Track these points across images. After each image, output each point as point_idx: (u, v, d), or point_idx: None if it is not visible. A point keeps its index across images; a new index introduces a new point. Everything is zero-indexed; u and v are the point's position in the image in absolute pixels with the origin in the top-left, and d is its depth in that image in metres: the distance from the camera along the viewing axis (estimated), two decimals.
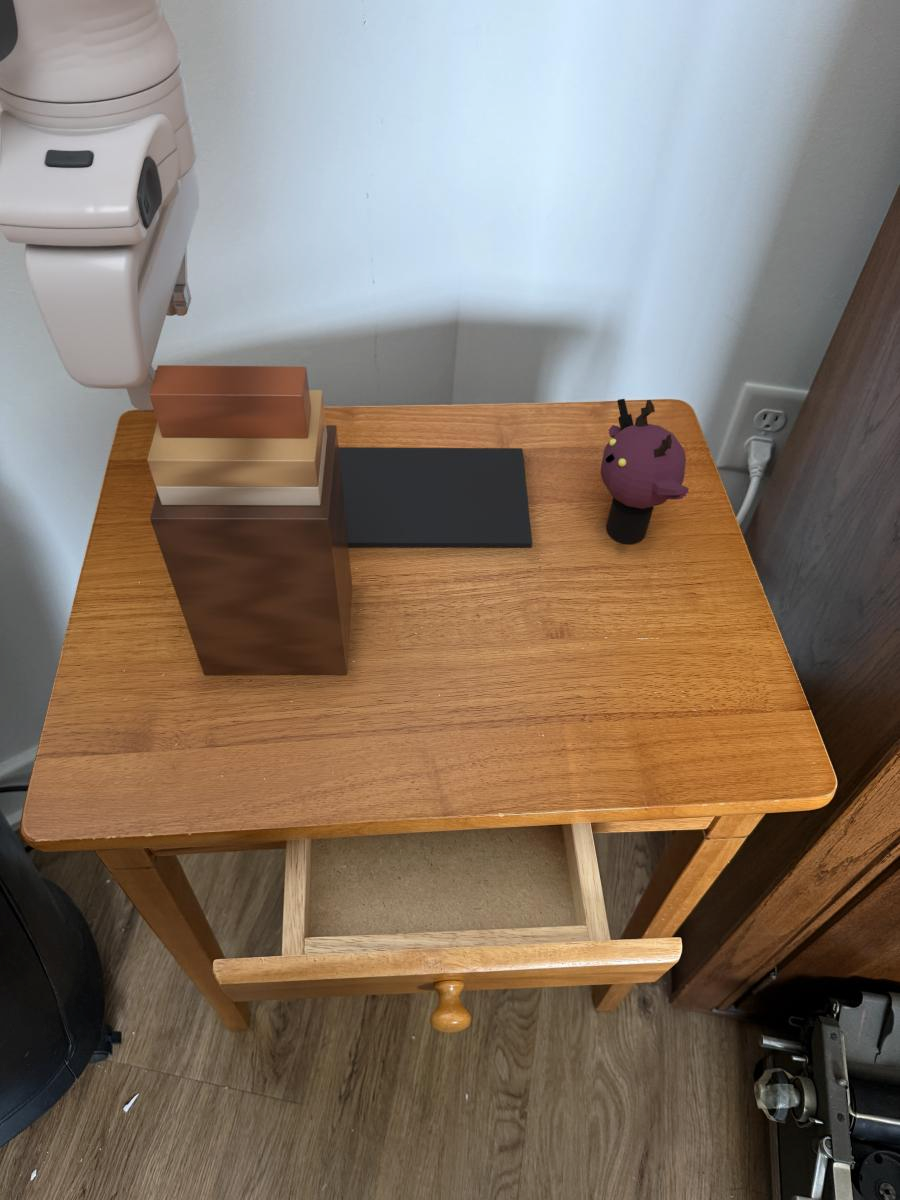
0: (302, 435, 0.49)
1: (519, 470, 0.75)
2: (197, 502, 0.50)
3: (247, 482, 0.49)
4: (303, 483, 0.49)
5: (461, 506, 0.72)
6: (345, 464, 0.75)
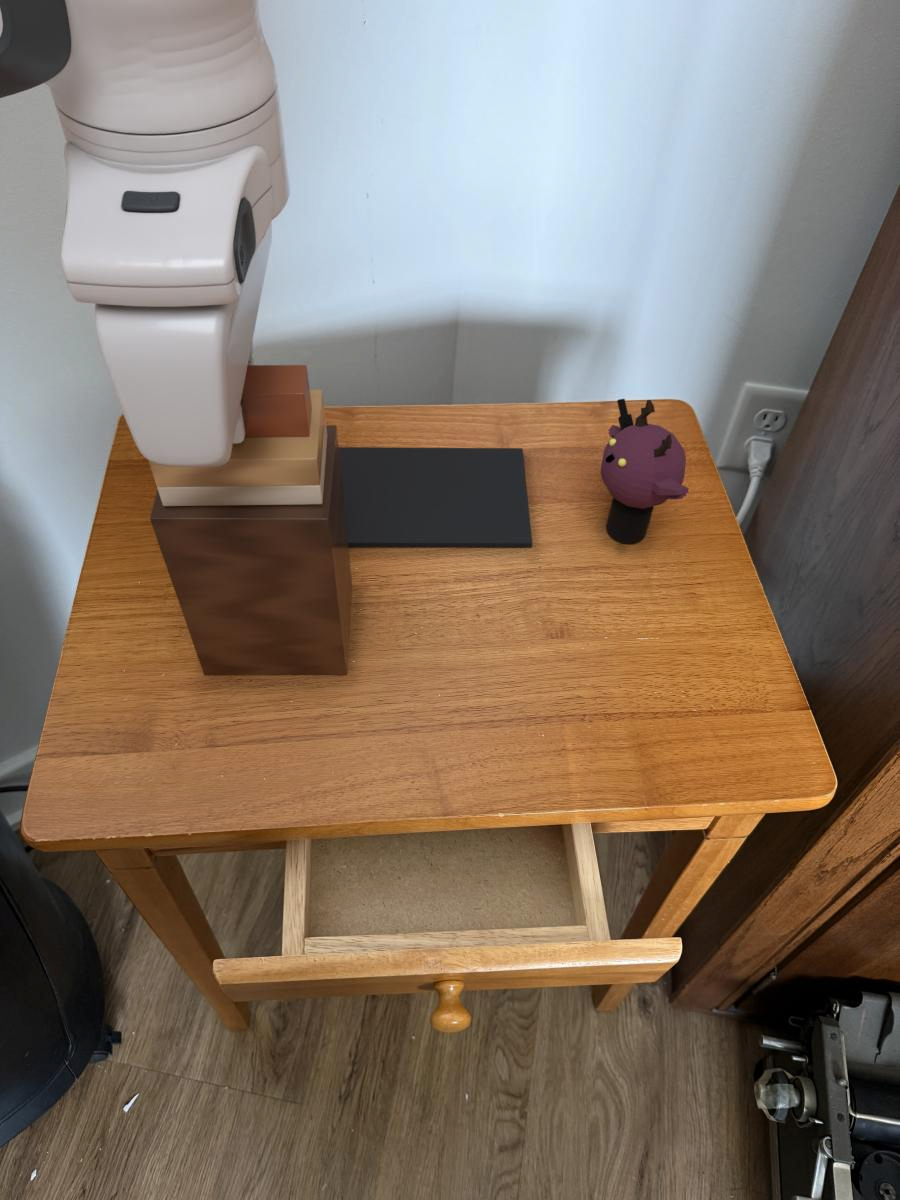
0: (303, 433, 0.49)
1: (519, 470, 0.75)
2: (199, 503, 0.50)
3: (249, 481, 0.49)
4: (305, 482, 0.49)
5: (461, 506, 0.72)
6: (345, 464, 0.75)
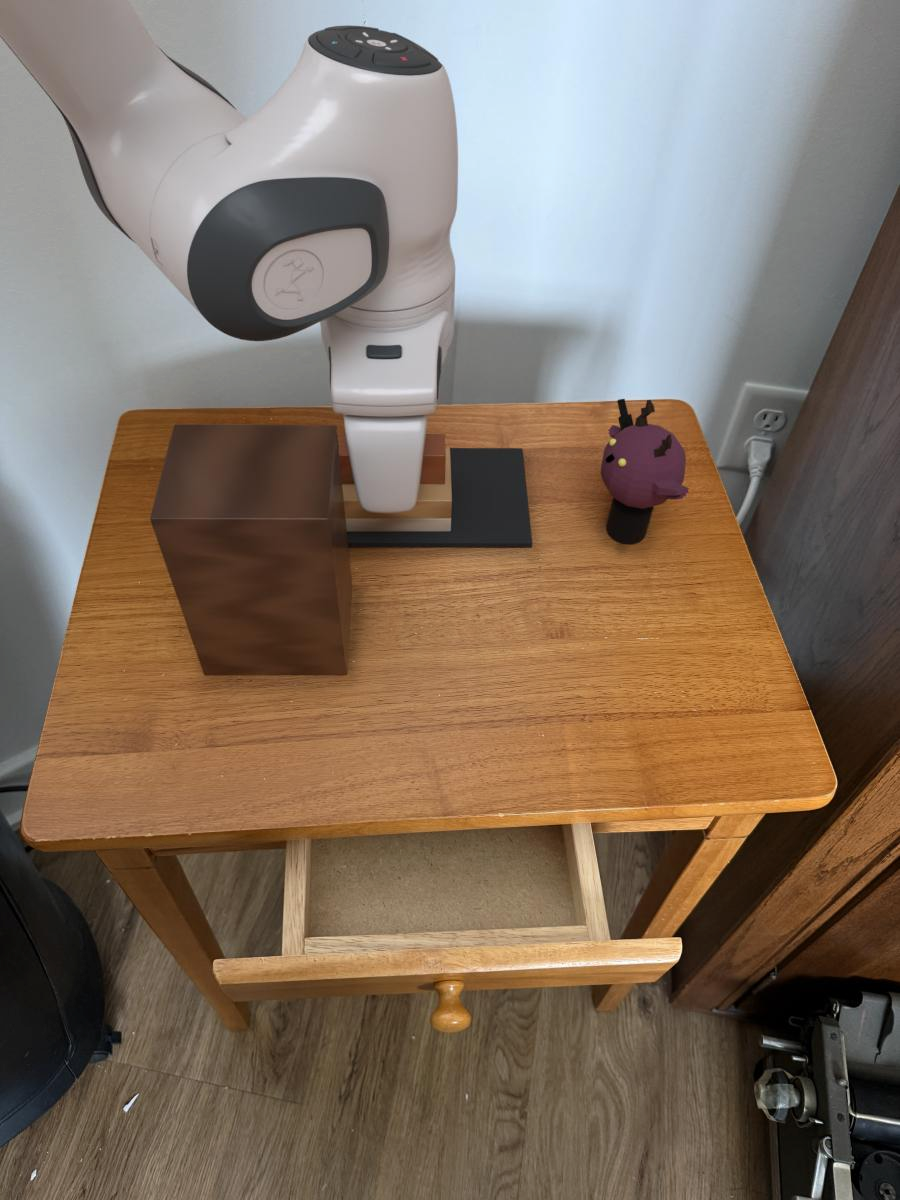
0: (441, 482, 0.69)
1: (519, 470, 0.75)
2: (363, 529, 0.70)
3: (401, 515, 0.69)
4: (441, 516, 0.69)
5: (461, 506, 0.72)
6: None
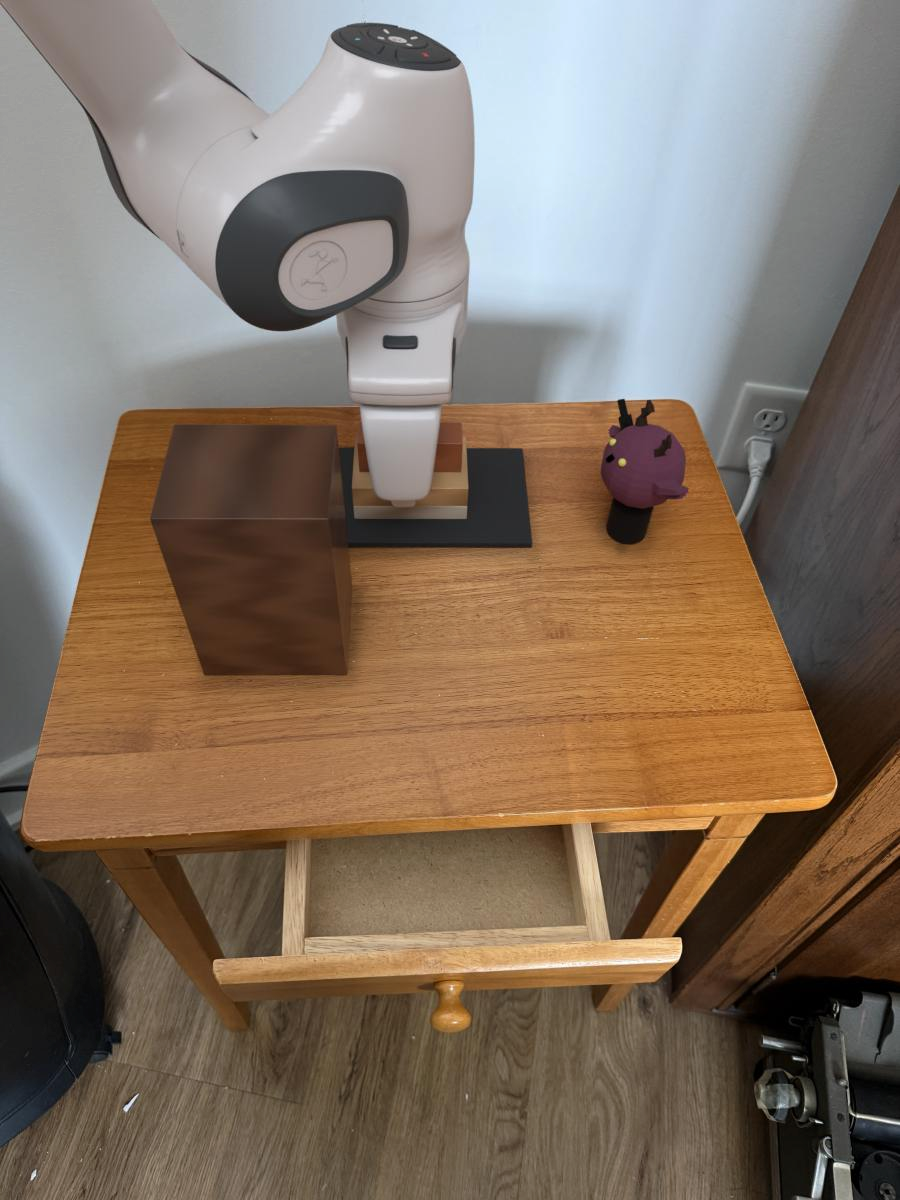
0: (457, 470, 0.70)
1: (519, 470, 0.75)
2: (380, 517, 0.71)
3: (418, 502, 0.70)
4: (457, 504, 0.70)
5: None
6: (345, 464, 0.75)
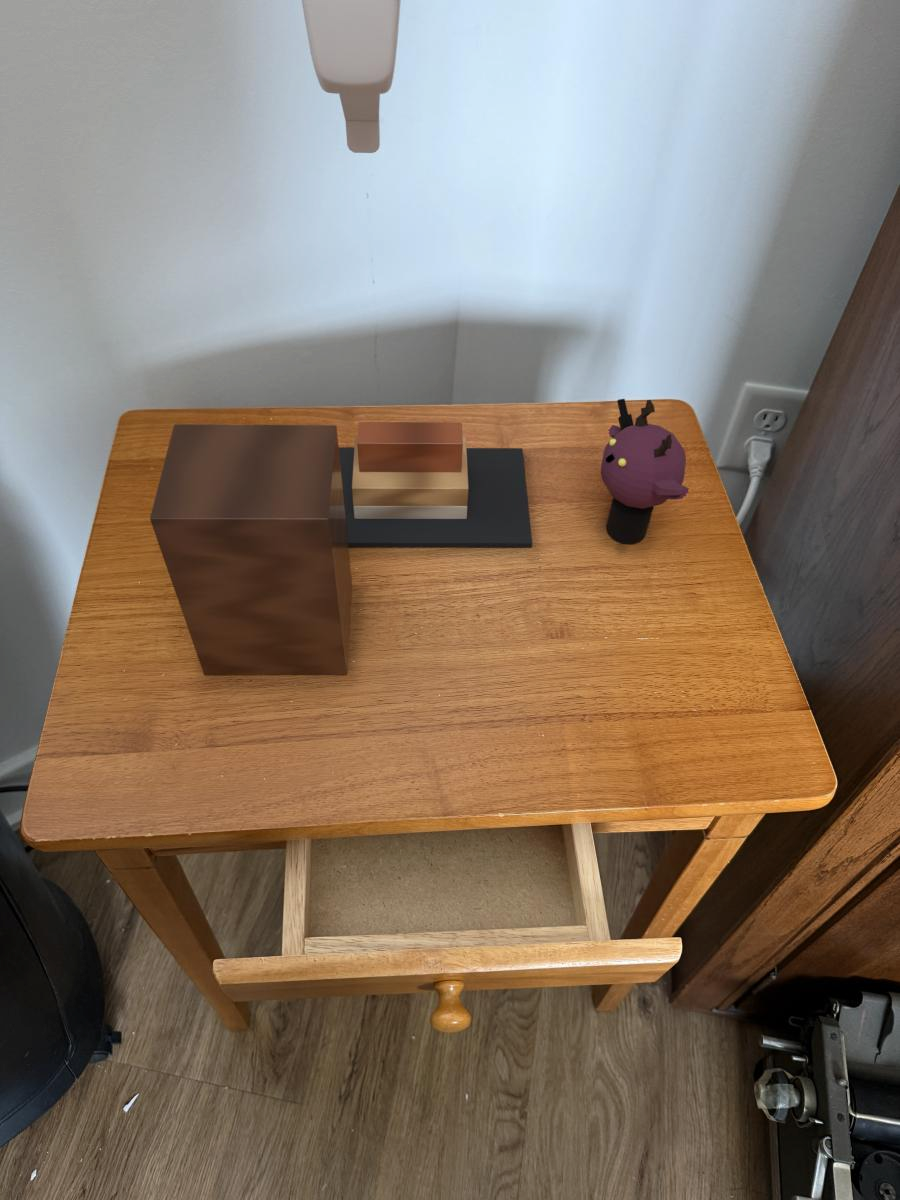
0: (457, 470, 0.70)
1: (519, 470, 0.75)
2: (380, 517, 0.71)
3: (418, 502, 0.70)
4: (457, 504, 0.70)
5: None
6: (345, 464, 0.75)
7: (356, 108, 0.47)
